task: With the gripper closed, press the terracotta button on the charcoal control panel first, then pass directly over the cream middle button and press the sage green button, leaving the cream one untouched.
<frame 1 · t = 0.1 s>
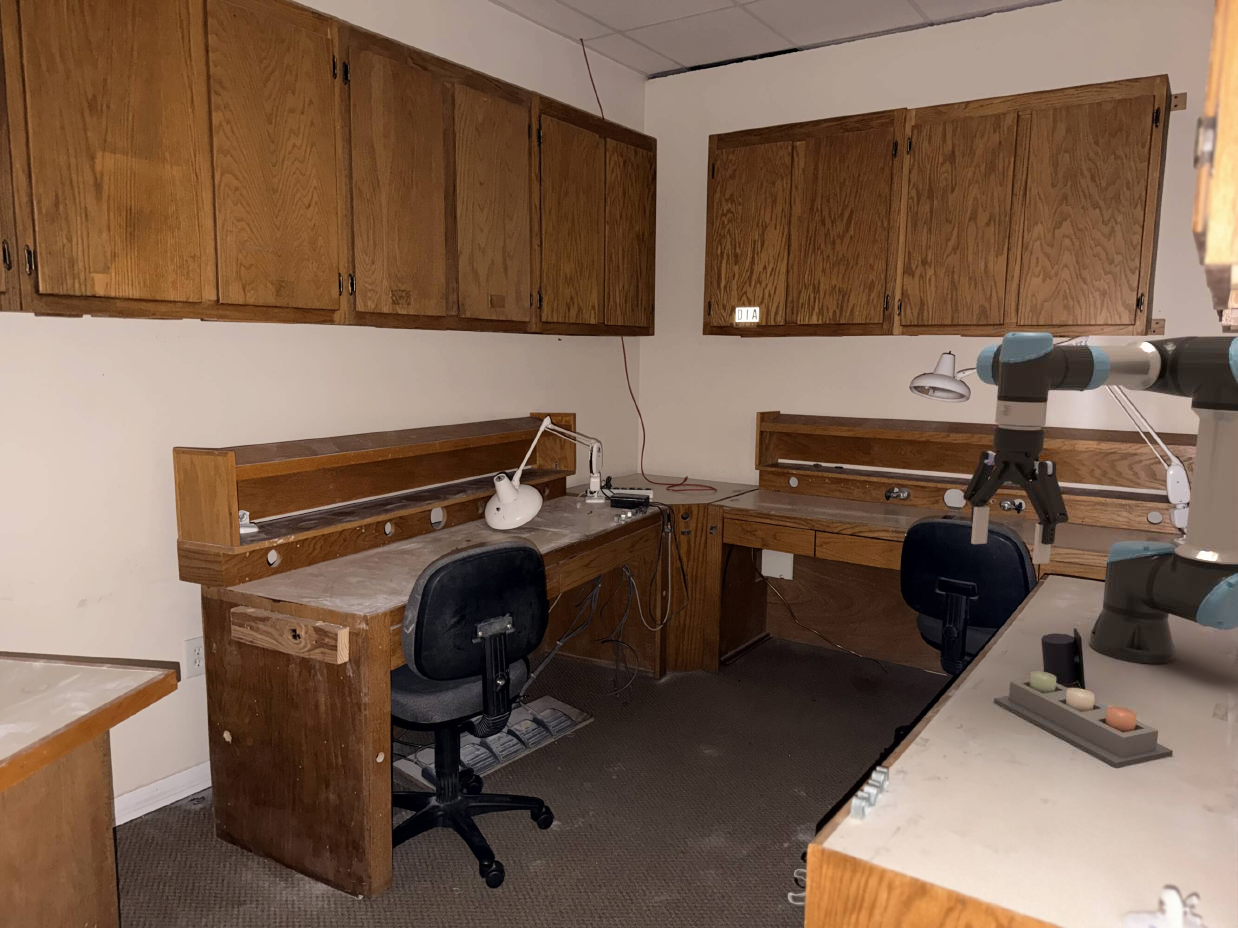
hand: (1008, 552, 140), 28 cm above the table, tool pointing down, fingers open, 13 cm apart
cream button: (1079, 702, 138), point 4 cm above the table, slide at 0.0 cm
speaker: (1060, 683, 157), on the table
sage button: (1042, 685, 145), point 4 cm above the table, slide at 0.0 cm
terracotta button: (1120, 722, 131), point 4 cm above the table, slide at 0.0 cm
control panel: (1077, 727, 138), on the table
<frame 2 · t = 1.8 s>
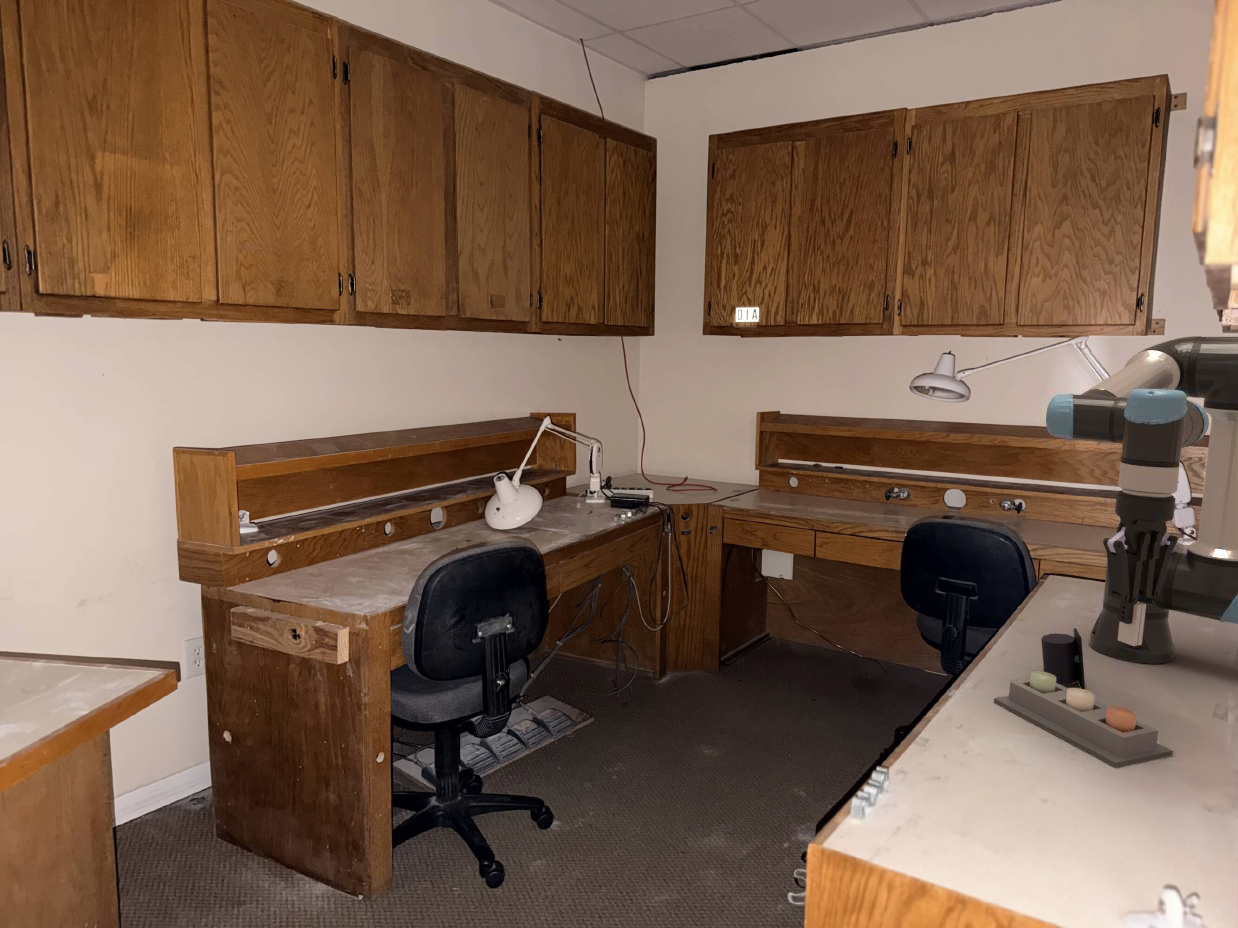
hand: (1129, 642, 129), 17 cm above the table, tool pointing down, fingers closed
nothing on the table moved.
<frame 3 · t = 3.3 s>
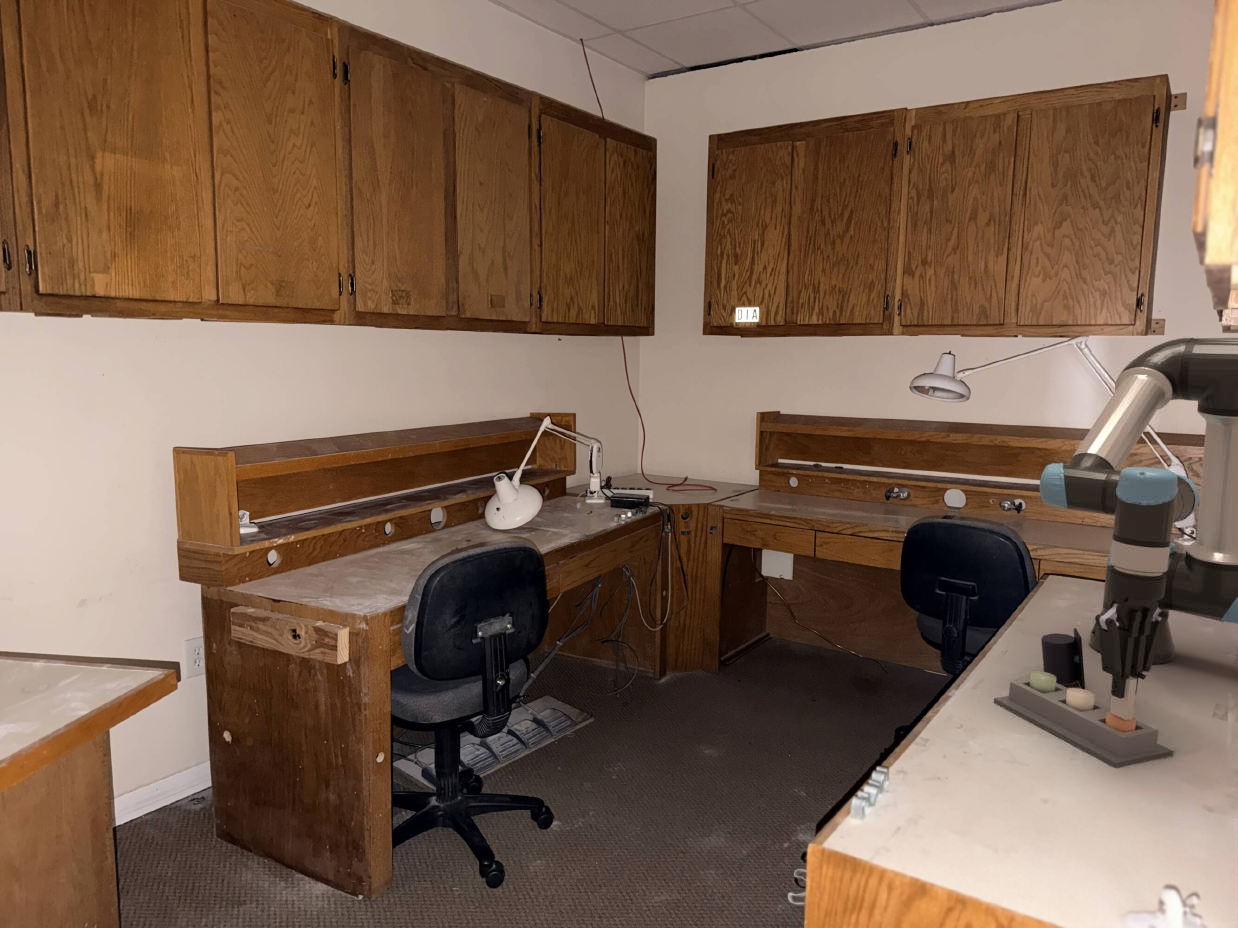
hand: (1121, 715, 131), 5 cm above the table, tool pointing down, fingers closed
terracotta button: (1120, 727, 131), point 3 cm above the table, slide at 0.8 cm, touching gripper
everything else where it was.
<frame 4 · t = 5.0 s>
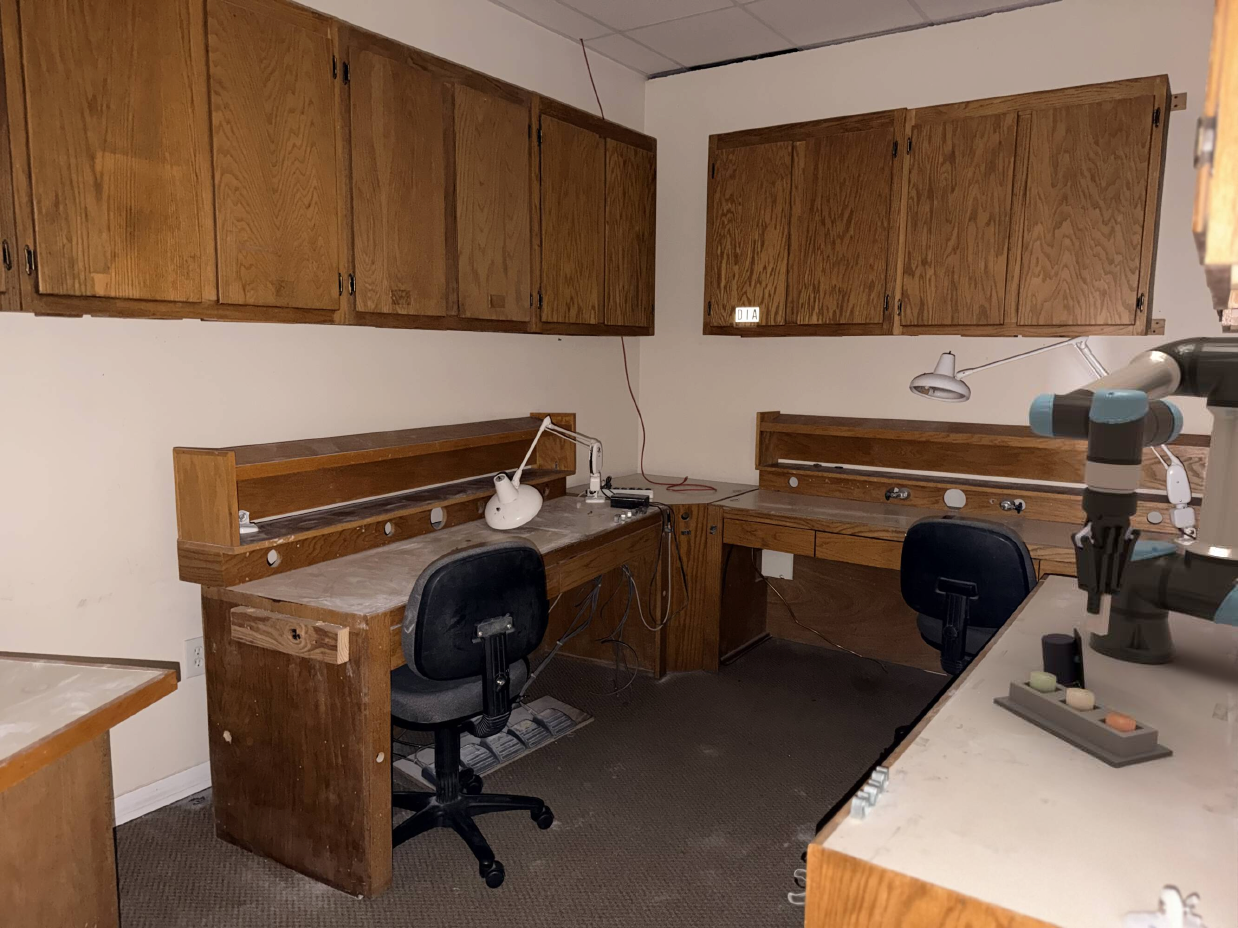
hand: (1096, 631, 135), 17 cm above the table, tool pointing down, fingers closed
terracotta button: (1119, 728, 131), point 3 cm above the table, slide at 1.1 cm
everything else where it was.
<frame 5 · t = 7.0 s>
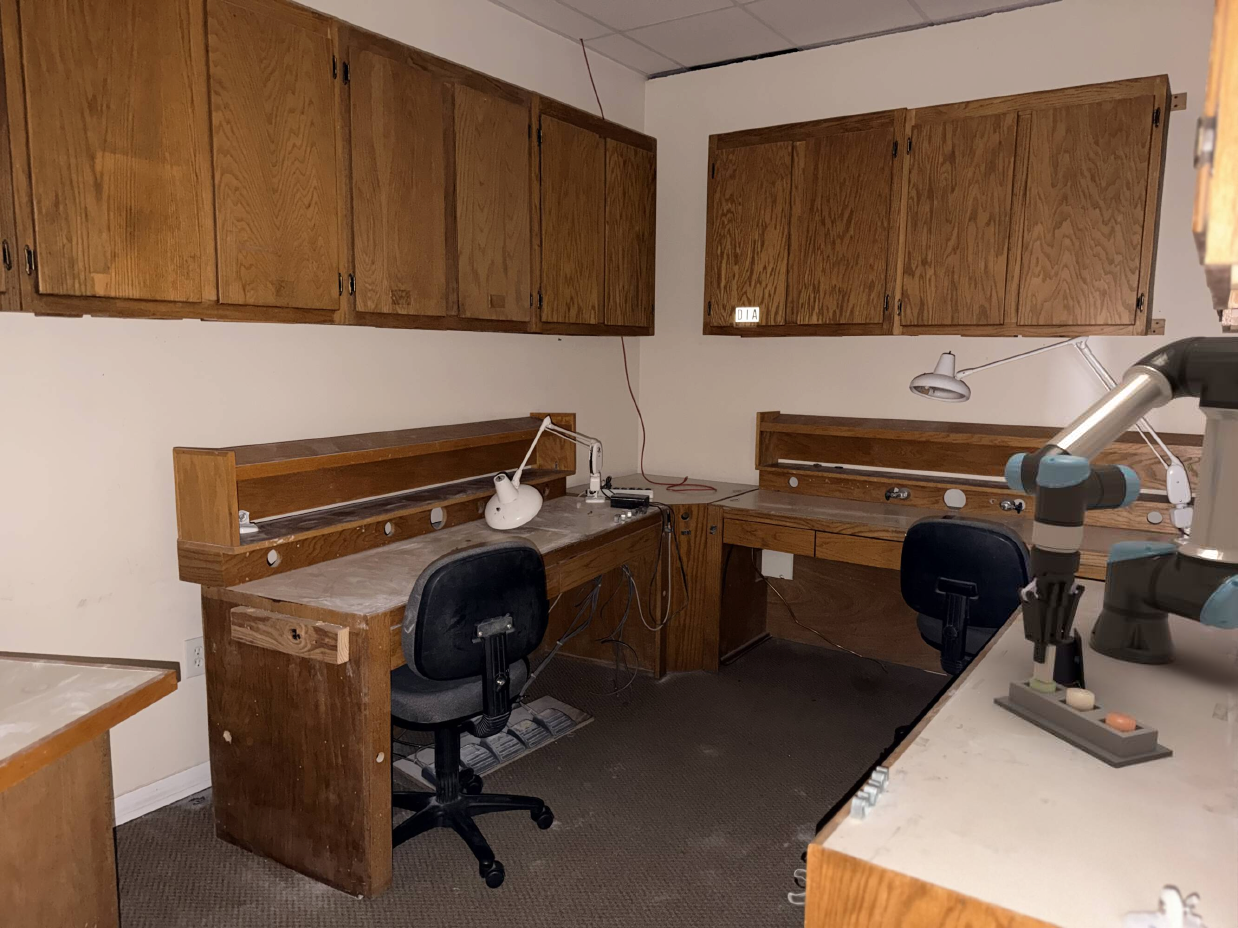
hand: (1042, 679, 145), 5 cm above the table, tool pointing down, fingers closed
sage button: (1042, 690, 145), point 3 cm above the table, slide at 1.0 cm, touching gripper
everything else where it was.
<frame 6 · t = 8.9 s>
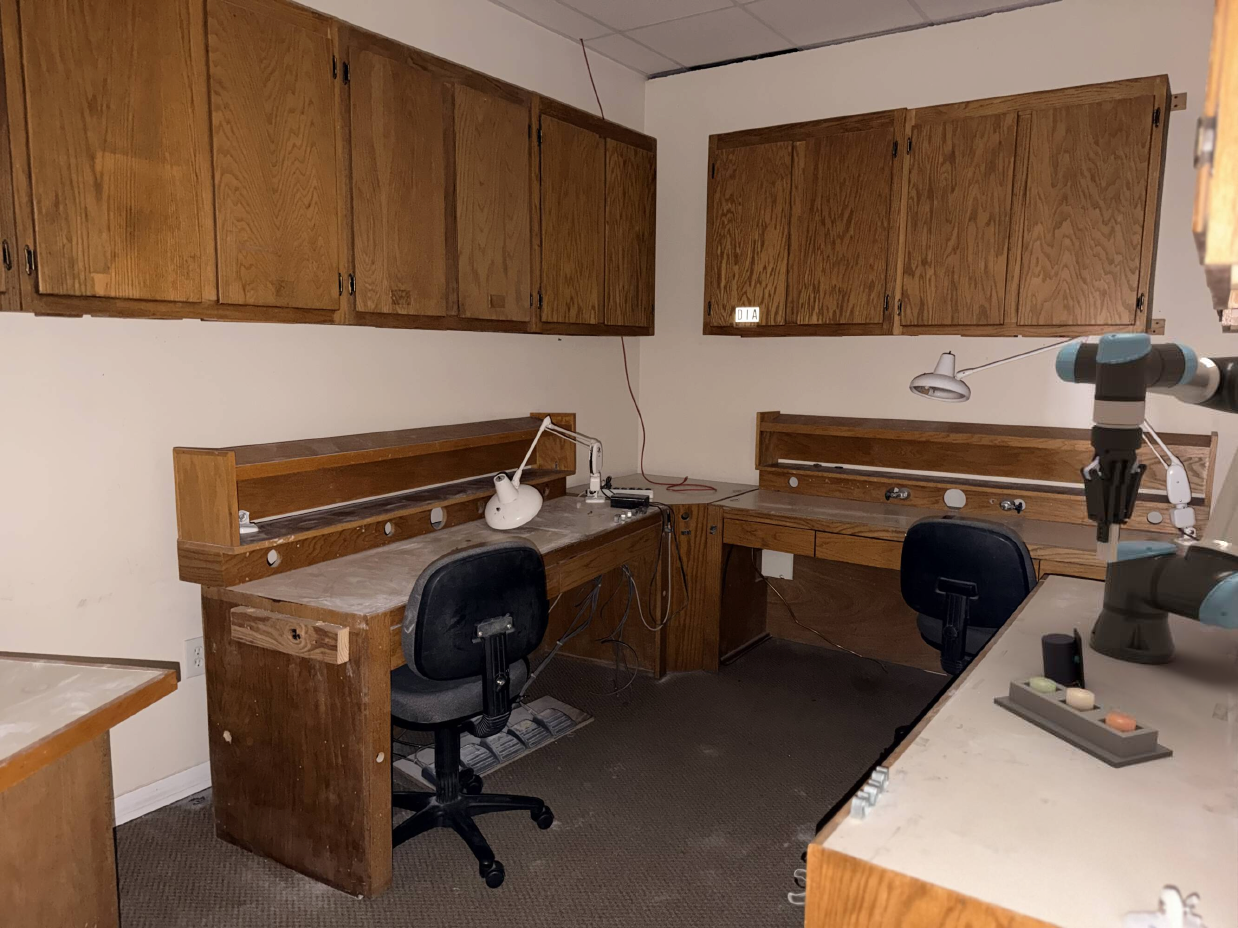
hand: (1106, 559, 145), 26 cm above the table, tool pointing down, fingers closed
sage button: (1042, 691, 145), point 3 cm above the table, slide at 1.1 cm
everything else where it was.
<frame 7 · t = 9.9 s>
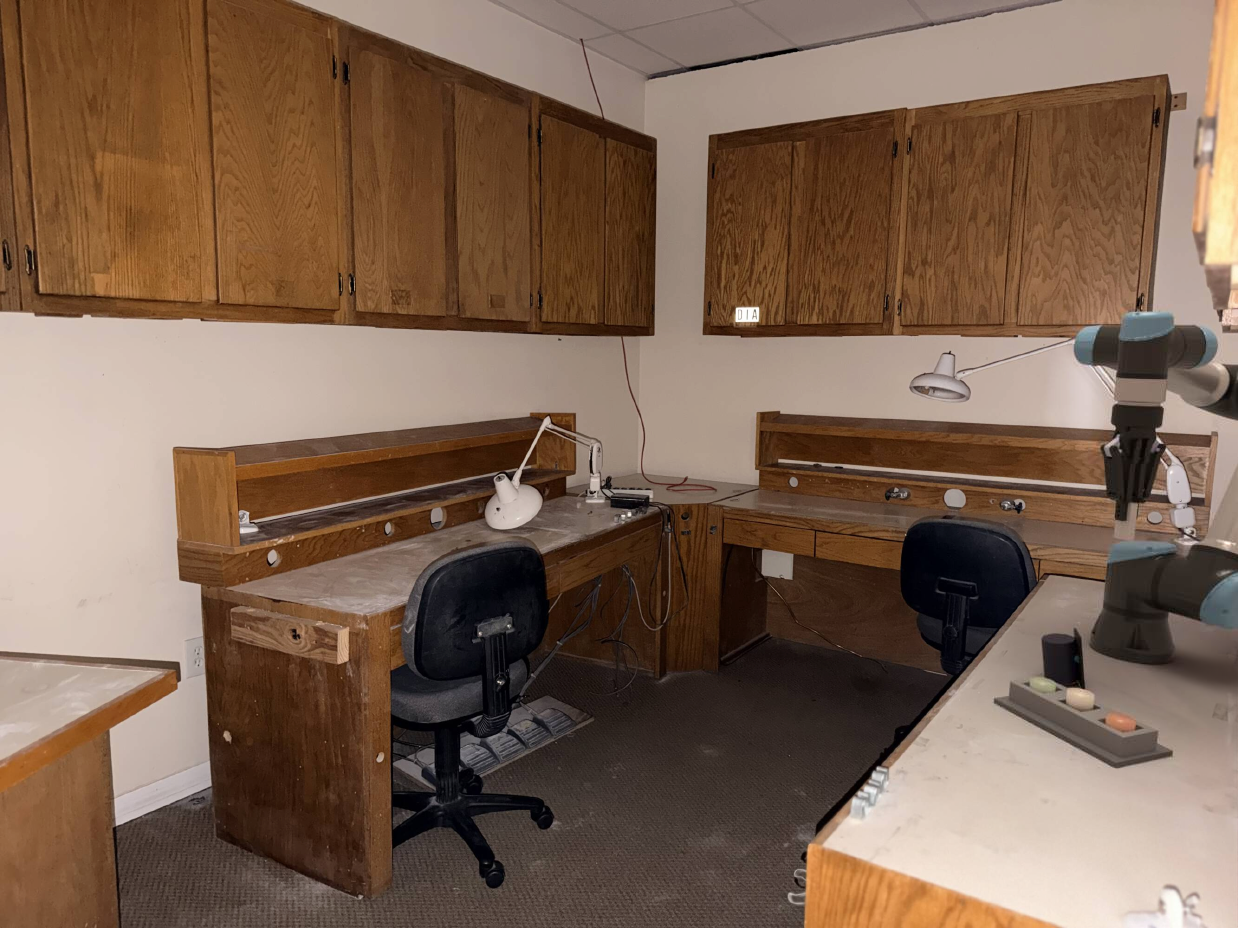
hand: (1123, 538, 146), 29 cm above the table, tool pointing down, fingers closed
nothing on the table moved.
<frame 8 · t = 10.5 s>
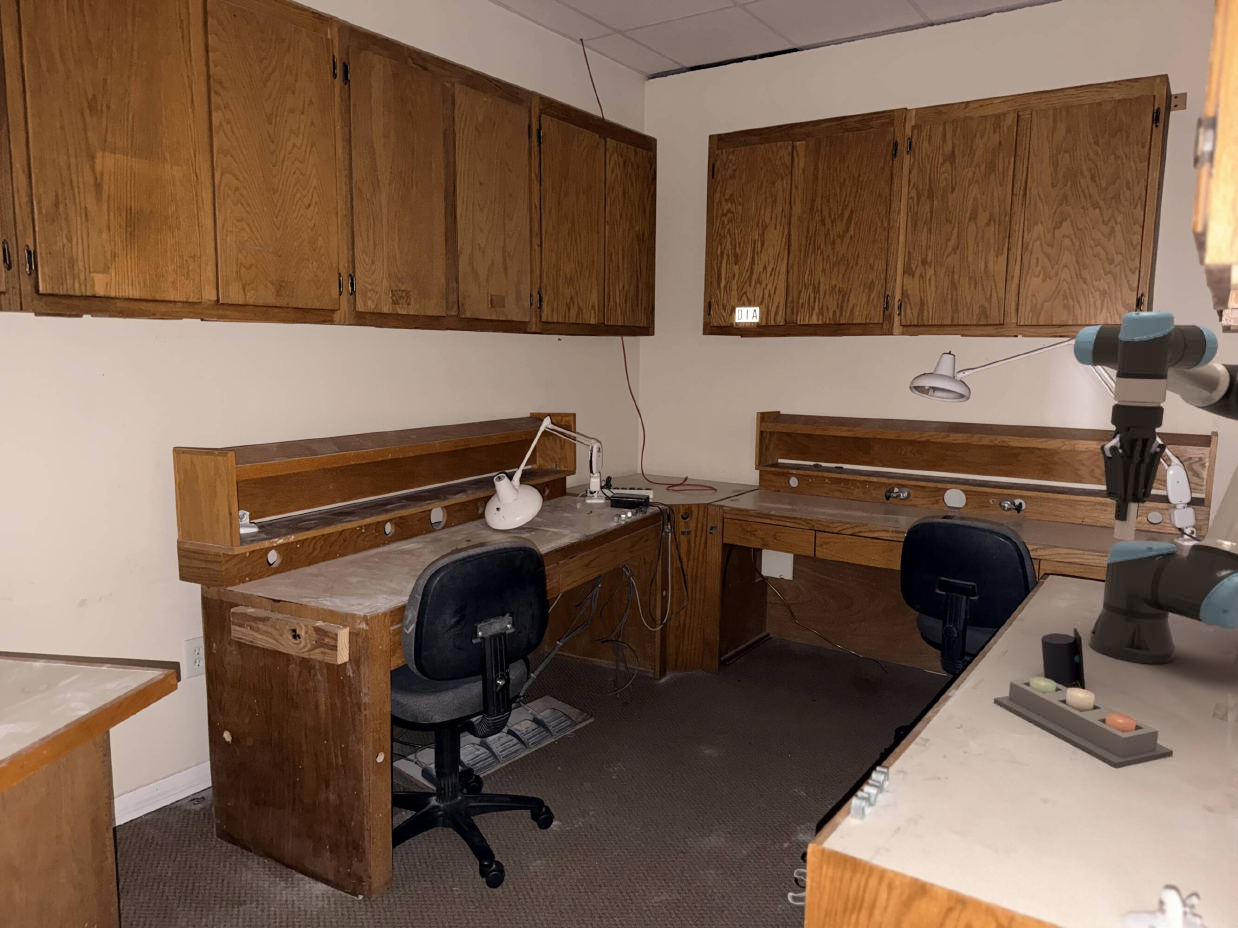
hand: (1123, 538, 146), 29 cm above the table, tool pointing down, fingers closed
nothing on the table moved.
at the end: terracotta button slide at 1.1 cm; sage button slide at 1.1 cm; cream button slide at 0.0 cm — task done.
